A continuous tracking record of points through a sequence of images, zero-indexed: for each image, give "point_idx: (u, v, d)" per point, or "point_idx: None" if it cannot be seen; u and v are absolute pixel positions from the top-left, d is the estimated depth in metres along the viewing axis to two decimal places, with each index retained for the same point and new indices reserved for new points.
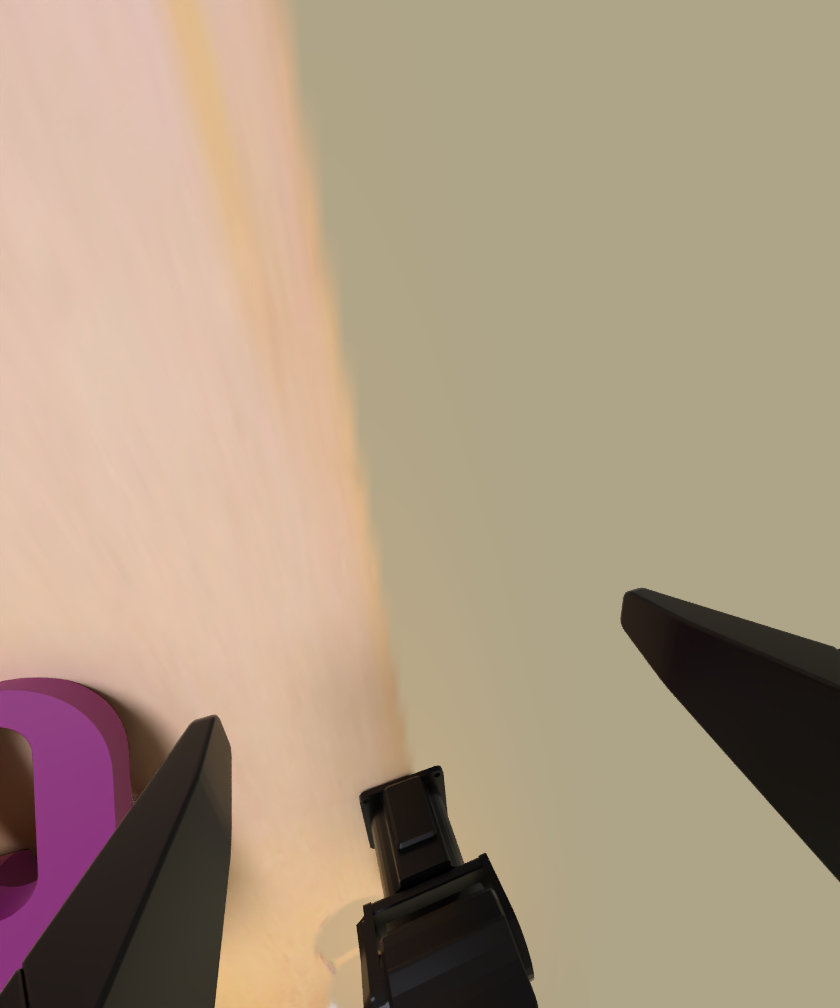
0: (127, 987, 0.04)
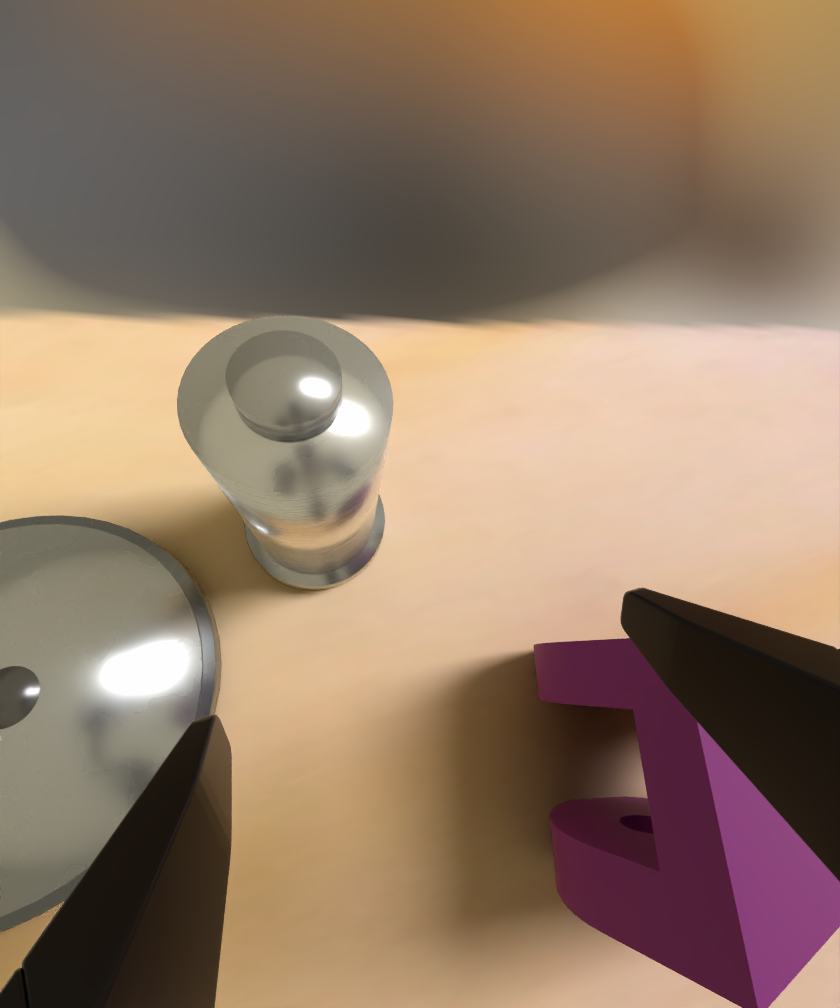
0: (127, 987, 0.04)
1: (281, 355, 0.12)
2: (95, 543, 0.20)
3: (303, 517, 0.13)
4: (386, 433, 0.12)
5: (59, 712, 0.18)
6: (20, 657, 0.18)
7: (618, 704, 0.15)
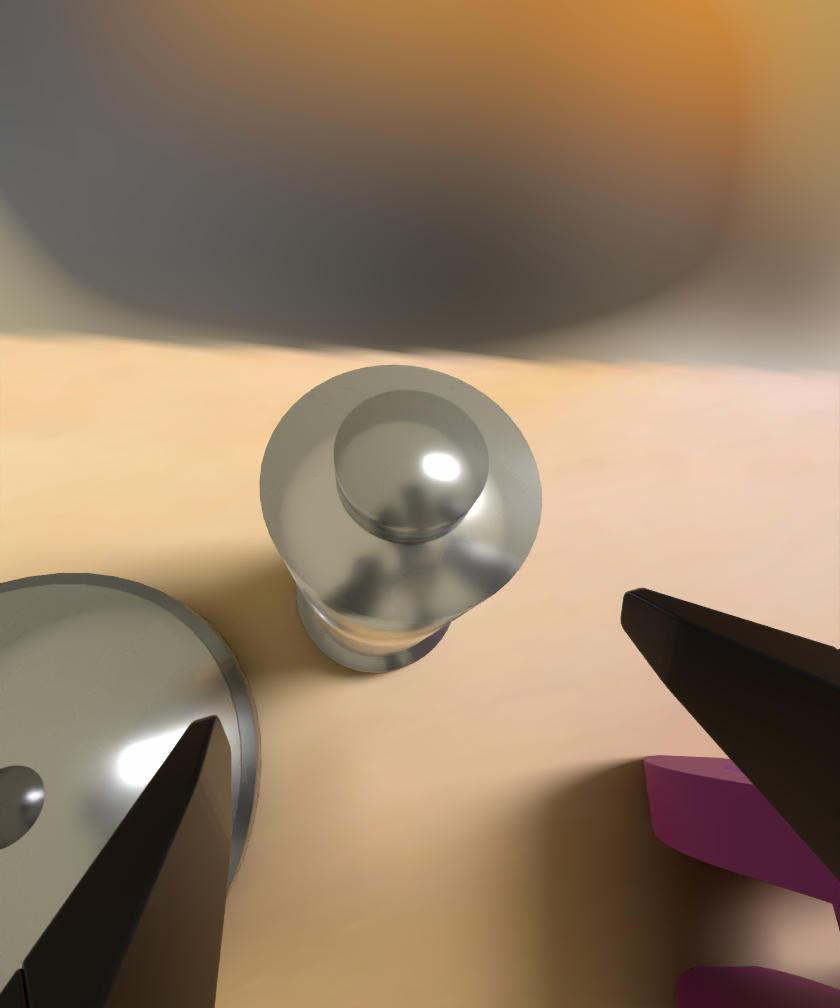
0: (127, 987, 0.04)
1: (407, 425, 0.08)
2: (123, 609, 0.17)
3: (408, 633, 0.10)
4: (536, 532, 0.09)
5: (65, 829, 0.14)
6: (25, 754, 0.15)
7: (805, 889, 0.11)
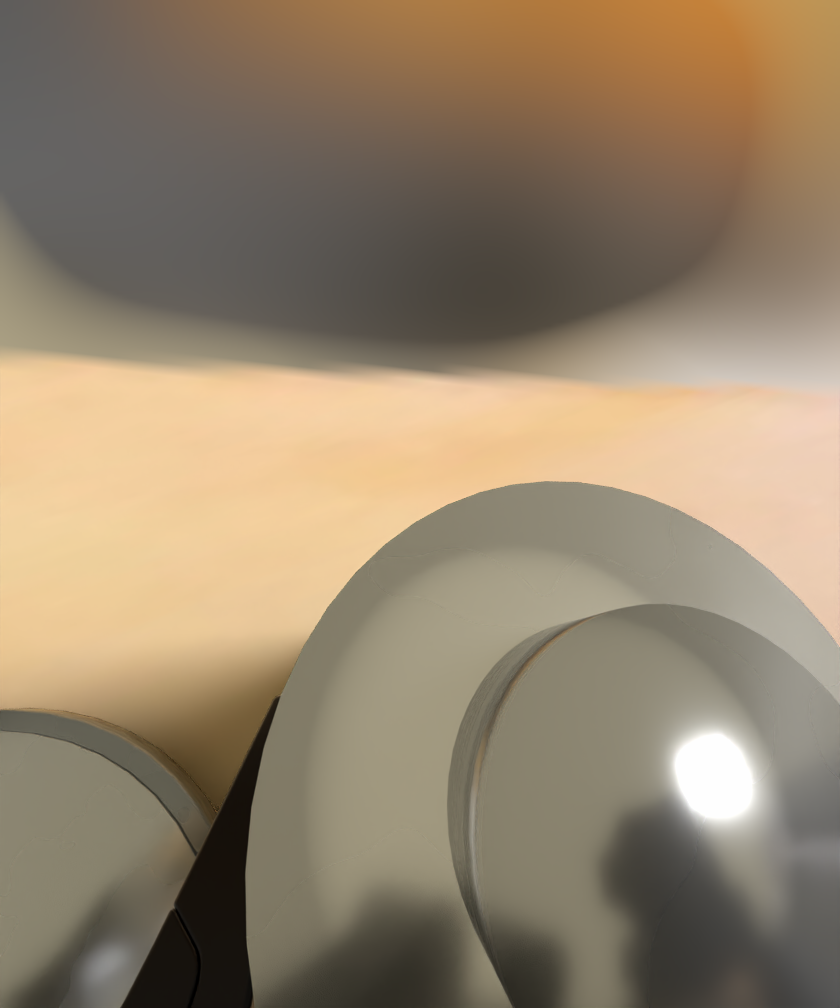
0: None
1: (673, 733, 0.03)
2: (56, 770, 0.12)
3: None
4: None
5: None
6: None
7: None
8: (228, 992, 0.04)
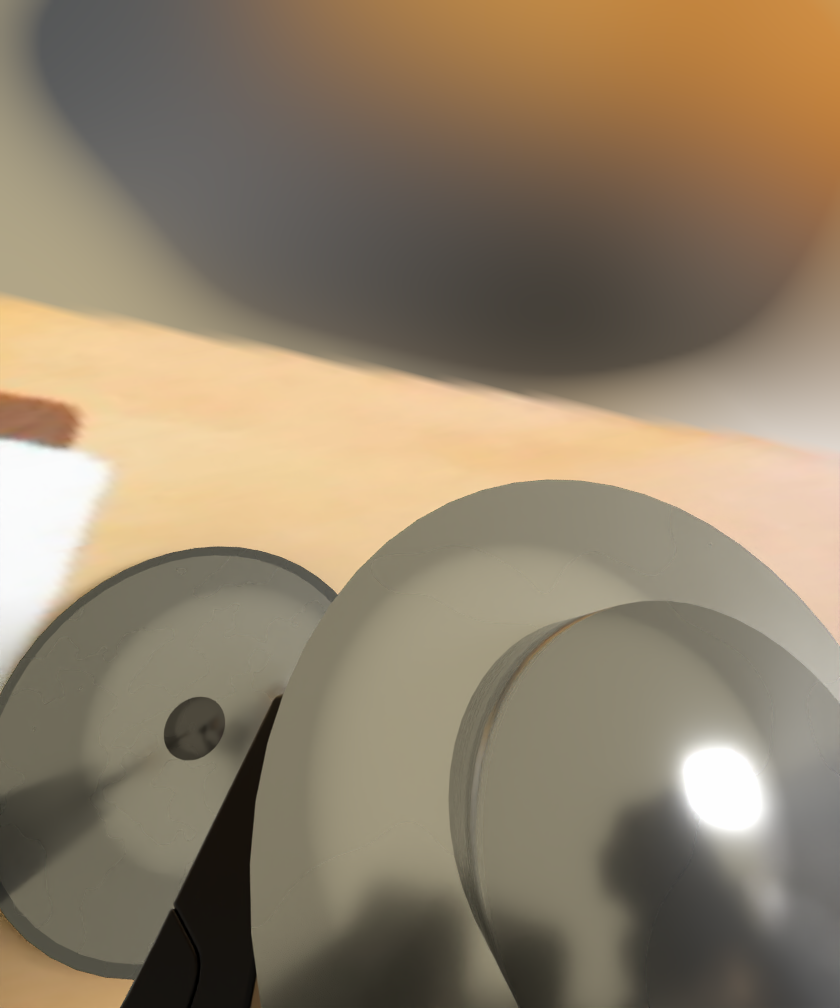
0: None
1: (672, 728, 0.03)
2: (288, 586, 0.21)
3: None
4: None
5: (239, 755, 0.18)
6: (211, 689, 0.19)
7: None
8: (228, 992, 0.04)
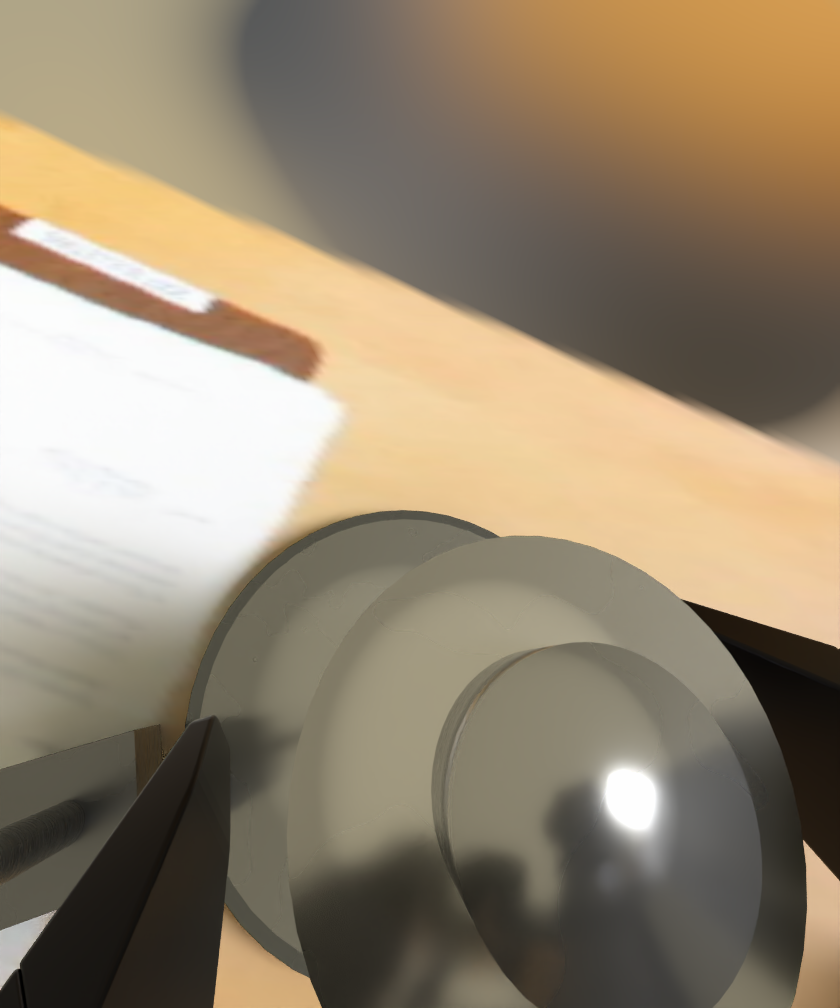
0: (125, 988, 0.04)
1: (587, 735, 0.04)
2: None
3: None
4: (802, 892, 0.05)
5: None
6: None
7: None
8: None
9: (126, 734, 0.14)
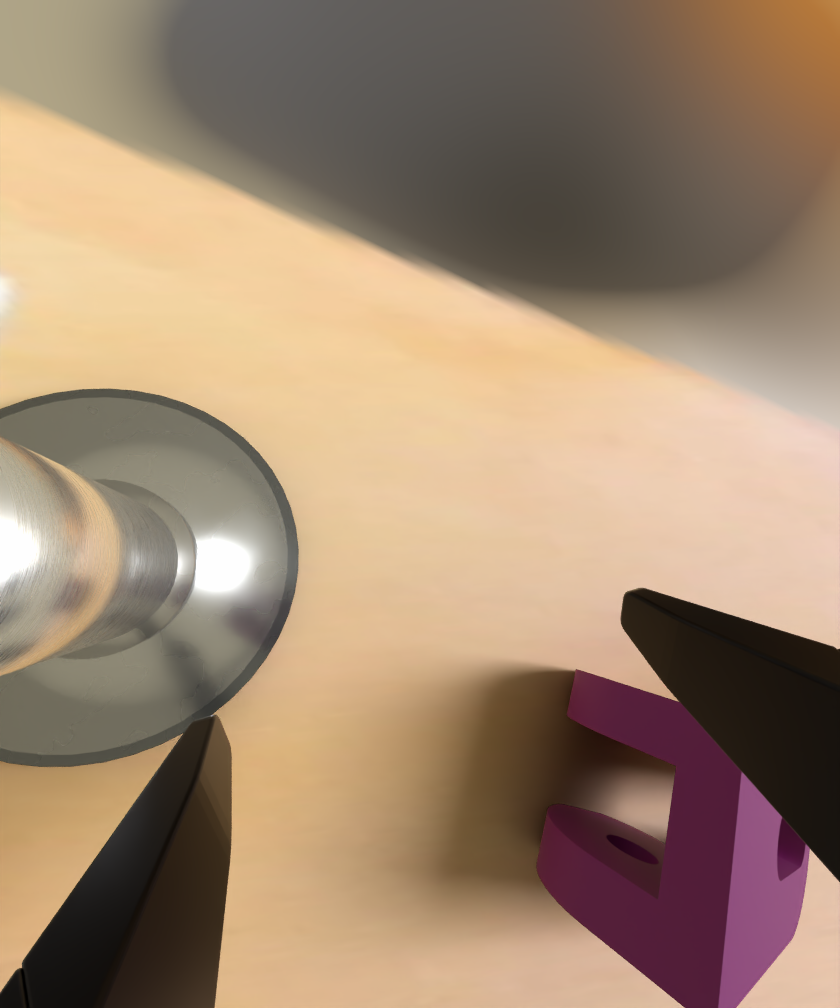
0: (127, 987, 0.04)
1: None
2: (211, 442, 0.20)
3: None
4: (3, 587, 0.07)
5: None
6: None
7: (662, 756, 0.17)
8: None
9: None
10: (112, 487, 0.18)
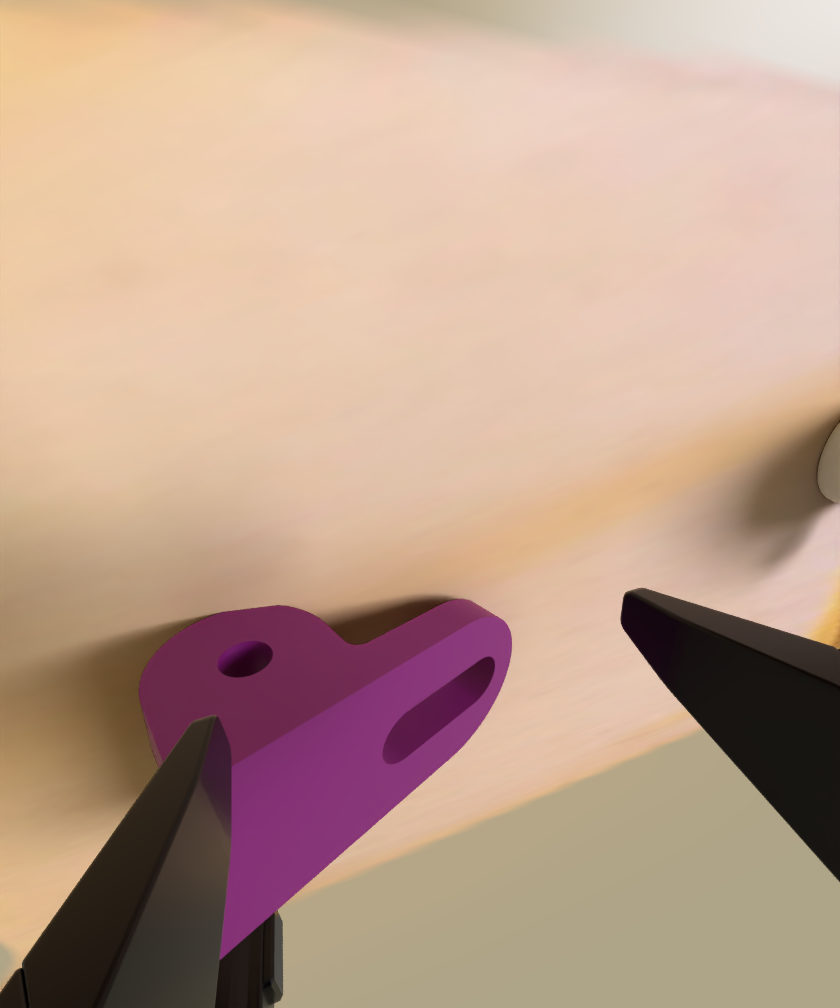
0: (127, 987, 0.04)
1: None
2: None
3: None
4: None
5: None
6: None
7: None
8: None
9: None
10: None
